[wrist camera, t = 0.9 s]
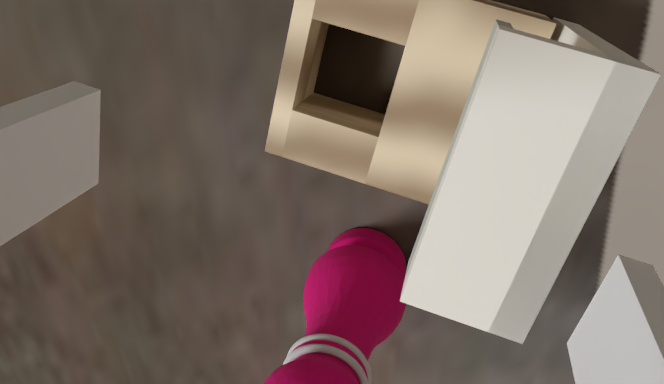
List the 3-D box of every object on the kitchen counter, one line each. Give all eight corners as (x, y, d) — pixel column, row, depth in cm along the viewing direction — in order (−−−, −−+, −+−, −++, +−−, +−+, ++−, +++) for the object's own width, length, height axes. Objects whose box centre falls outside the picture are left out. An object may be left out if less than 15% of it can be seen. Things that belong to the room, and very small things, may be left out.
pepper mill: (363, 317, 44) (289, 559, 26) (303, 254, 43) (183, 461, 25) (432, 271, 41) (400, 511, 23) (369, 203, 40) (285, 398, 22)
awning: (488, -1, 33) (499, 29, 19) (578, 24, 32) (661, 74, 18) (427, 173, 38) (399, 301, 24) (503, 197, 38) (522, 344, 23)
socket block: (325, -46, 34) (303, -47, 30) (545, 15, 33) (556, 23, 28) (288, 129, 39) (264, 151, 35) (475, 188, 38) (476, 219, 33)
